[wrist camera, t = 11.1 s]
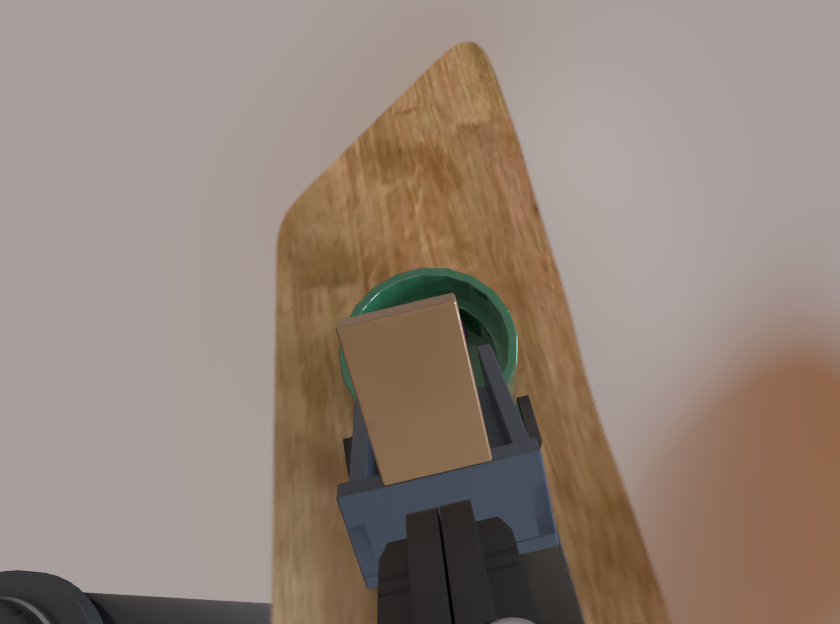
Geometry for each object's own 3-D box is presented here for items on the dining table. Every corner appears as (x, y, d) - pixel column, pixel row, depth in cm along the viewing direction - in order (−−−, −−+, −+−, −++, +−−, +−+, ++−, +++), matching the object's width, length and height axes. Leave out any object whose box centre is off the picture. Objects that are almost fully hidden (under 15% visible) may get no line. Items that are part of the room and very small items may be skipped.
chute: (559, 546, 19) (509, 286, 16) (367, 590, 19) (282, 341, 16) (499, 392, 28) (461, 210, 25) (370, 422, 28) (317, 245, 25)
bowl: (482, 482, 34) (478, 461, 30) (333, 421, 37) (309, 394, 33) (538, 334, 38) (542, 297, 33) (398, 289, 40) (384, 248, 36)
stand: (584, 629, 31) (618, 635, 21) (407, 670, 31) (362, 693, 22) (533, 452, 35) (542, 391, 25) (376, 488, 35) (328, 442, 26)
